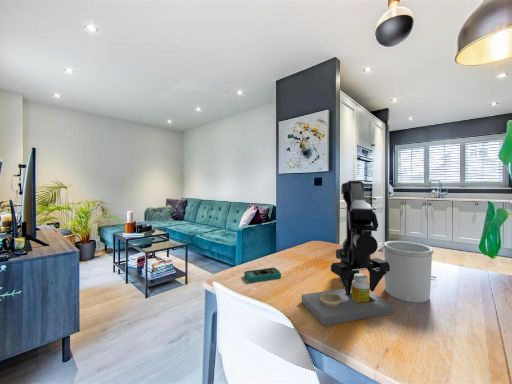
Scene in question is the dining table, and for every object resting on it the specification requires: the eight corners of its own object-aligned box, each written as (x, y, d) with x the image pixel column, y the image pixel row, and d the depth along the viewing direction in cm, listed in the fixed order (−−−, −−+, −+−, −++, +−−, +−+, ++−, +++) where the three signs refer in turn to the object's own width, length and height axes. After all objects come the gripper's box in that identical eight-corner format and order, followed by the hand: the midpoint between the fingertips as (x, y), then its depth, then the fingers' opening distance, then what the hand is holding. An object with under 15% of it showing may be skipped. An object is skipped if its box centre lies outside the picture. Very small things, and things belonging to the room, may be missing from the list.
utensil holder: (419, 308, 76) (420, 254, 75) (374, 290, 89) (375, 243, 88) (439, 296, 84) (441, 247, 83) (395, 281, 96) (397, 238, 96)
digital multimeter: (282, 278, 101) (282, 272, 101) (249, 284, 96) (248, 276, 95) (275, 272, 108) (275, 266, 107) (243, 277, 102) (243, 270, 102)
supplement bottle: (360, 310, 75) (361, 280, 75) (347, 302, 80) (348, 274, 79) (373, 306, 77) (373, 277, 77) (359, 299, 82) (360, 271, 82)
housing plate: (361, 292, 87) (361, 281, 87) (393, 313, 73) (393, 300, 73) (301, 301, 80) (301, 290, 80) (324, 326, 67) (324, 312, 67)
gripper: (366, 238, 88) (366, 279, 89) (321, 241, 83) (321, 286, 83) (391, 246, 77) (390, 293, 78) (341, 250, 72) (341, 301, 73)
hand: (359, 292), depth 78 cm, fingers open, 9 cm apart
